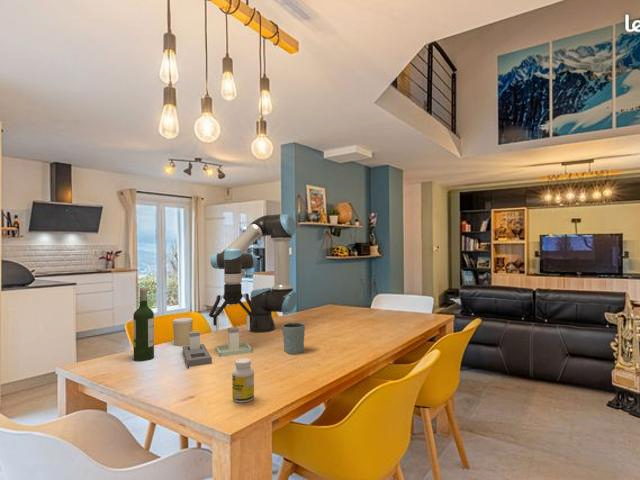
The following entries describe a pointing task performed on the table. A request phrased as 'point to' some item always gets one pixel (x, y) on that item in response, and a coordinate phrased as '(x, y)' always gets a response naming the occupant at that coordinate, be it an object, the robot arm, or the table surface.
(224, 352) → the tray
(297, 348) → the grey-green cup
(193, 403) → the table surface
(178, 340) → the coffee cup
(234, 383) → the pill bottle
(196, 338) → the twin plug
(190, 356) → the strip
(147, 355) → the wine bottle
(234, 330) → the plug
